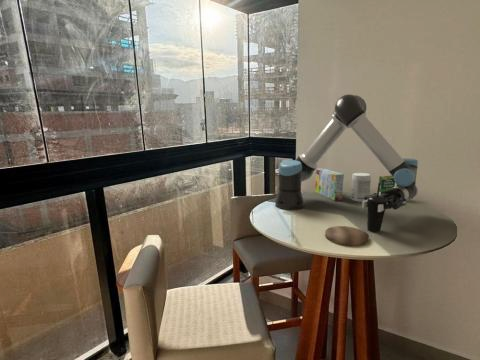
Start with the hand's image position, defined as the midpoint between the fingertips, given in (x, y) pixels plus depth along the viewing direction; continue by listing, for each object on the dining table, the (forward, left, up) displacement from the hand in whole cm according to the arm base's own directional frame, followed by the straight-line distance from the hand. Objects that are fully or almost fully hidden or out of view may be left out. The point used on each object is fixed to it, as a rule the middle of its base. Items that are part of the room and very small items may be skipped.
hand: (370, 206), depth 116 cm
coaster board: (-10, -5, -11) cm, 16 cm away
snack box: (-5, +56, -11) cm, 57 cm away
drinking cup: (+3, +3, -11) cm, 12 cm away
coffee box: (+26, +51, -11) cm, 58 cm away
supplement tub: (+11, +48, -11) cm, 50 cm away
